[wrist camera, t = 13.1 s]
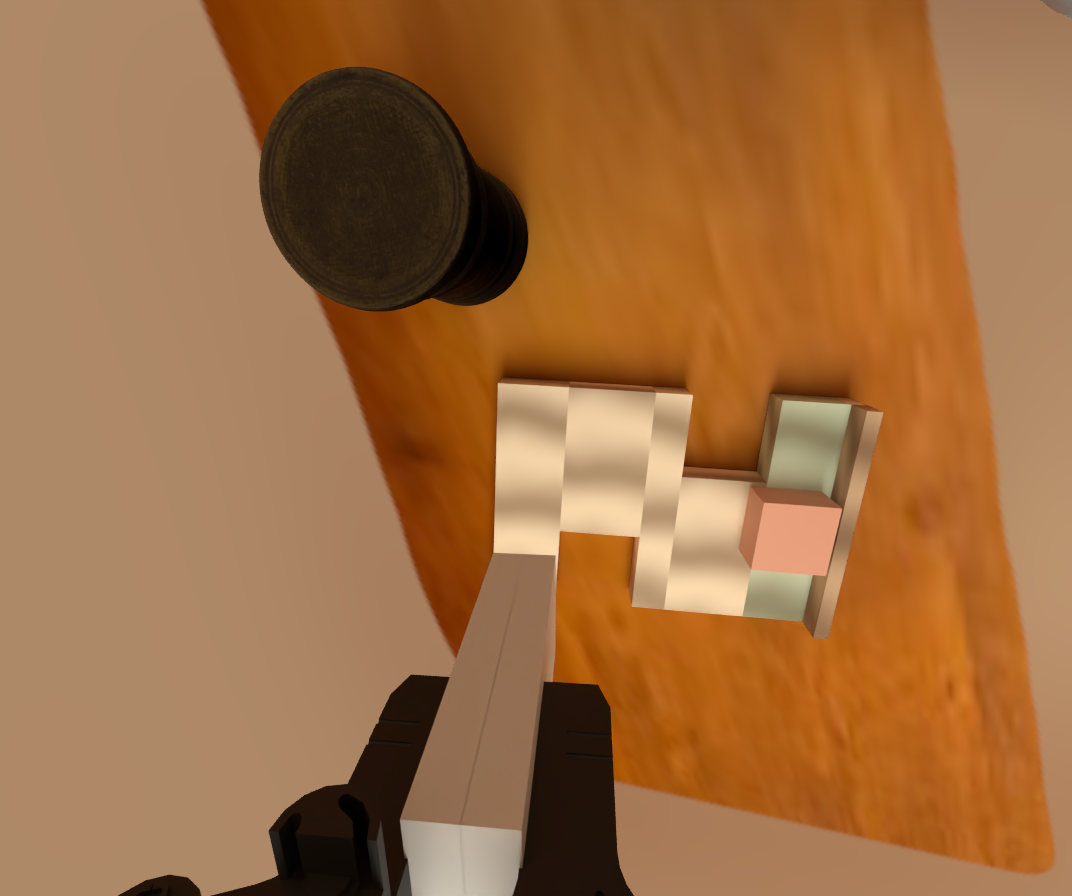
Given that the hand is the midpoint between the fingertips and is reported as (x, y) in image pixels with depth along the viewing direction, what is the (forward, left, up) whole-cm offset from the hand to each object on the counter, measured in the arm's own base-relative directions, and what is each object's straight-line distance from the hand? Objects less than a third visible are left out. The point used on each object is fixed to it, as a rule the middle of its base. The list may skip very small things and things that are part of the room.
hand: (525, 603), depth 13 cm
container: (-10, -8, -28) cm, 31 cm away
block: (+8, +16, -25) cm, 31 cm away
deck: (+8, +7, -28) cm, 30 cm away
